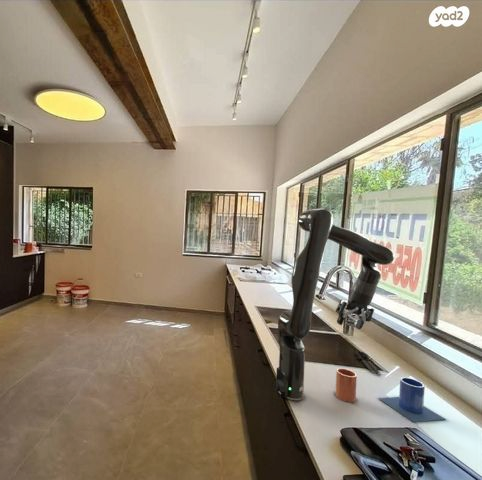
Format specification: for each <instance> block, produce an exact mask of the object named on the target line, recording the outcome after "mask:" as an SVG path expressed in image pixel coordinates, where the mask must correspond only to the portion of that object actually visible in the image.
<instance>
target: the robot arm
mask: <svg viewBox="0 0 482 480" xmlns="http://www.w3.org/2000/svg"><path fill="white" fill-rule="evenodd" d="M297 220H298V226H299V227H300V228H301V229H302V230H303V231H304V232H306V233H308V237H307V241H306V244H305V246H304V248H303V249H302V251H300V253H299V255H298V256H297V258H296V260H295V261H294V263H293V268H292V272H291V277H290V278H291V288H292V289H291V290H292V297H293V302H292V308H291V309H289V310H284V311H283V312H281V314H279V317H278V322H277V342H278V345H279V357H278V362H279V363H278V367H276V377H275V393H276V395H277V396H278V397H279V398H281V397H282V399H284V400H290V401H296V402H297V401H299V402H300V401H302V400H303V399H304V398H305V397H304V396H305V395H304V392H305V391H304V390H305V368H306V367H305V366H306V365H305V363H306V347H305V345H304V343H303V340H304V339H305V338H306V337H308V335H309V333H310V331H311V325H312V316H313V315H312V314H313V305H314V300H315V296H316V292H317V291H316V290H317V286H318V282H319V277H320V272H321V267H322V263H323V258H324V253H325V250H326V246H327V243H328V240H329V241H332V242H334V243H336V244H338V245H340V246H342V247H344V248H345V249H347V250H349V251H351V252H353V253H355V254H357V255H360V256H361V262H360V270H359V273H358V274H357V277H356V280H355V282H354V283H353V285H352V287H351V291H350V293H349V296H348V301H345V300H344V299H340V300H339V302H338V305H337V307H336V309H335V313H336V314H338V317H337V319H336V323H337V324H338V325H339V326H343V324H344V322H345V319H346V317H347V316H349V315H351V314H352V315H357V316H358V319H357V321H356V323H355V328H356V329H357V330H361V329H362V328H363V326H364V324H365V323H366V322H368V323H370V322H371V320H372V317H373V315H374V312H375V309H374V308H373V307H371V303H372V302H373V301H372V300H373V298H374V296H375V294H376V292H377V288H378V285H379V282H380V280H381V278H382V271H380V270H379V269H378V268H377V264H378V265H381V266H387V265H390V264H392V263H393V262H395V258H396V255H395V253H394V251H393V250H392V249H391V248H389V247H387V246H384V245H382V244H379V243H378V242H376V241H375V242H374V241H372V240H371V239H369V238H367V237H365V236H364V235H363V234H360V233H358V232H355V231H353V230H350V229H348V228H345V227H342V226H337V225H335V224H334V216H333V213H332V212H331V211H330V210H329V209H327V208H311V209H307V210H304V211H302V212H301V213H300V214H299V216H298V219H297Z"/></svg>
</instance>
